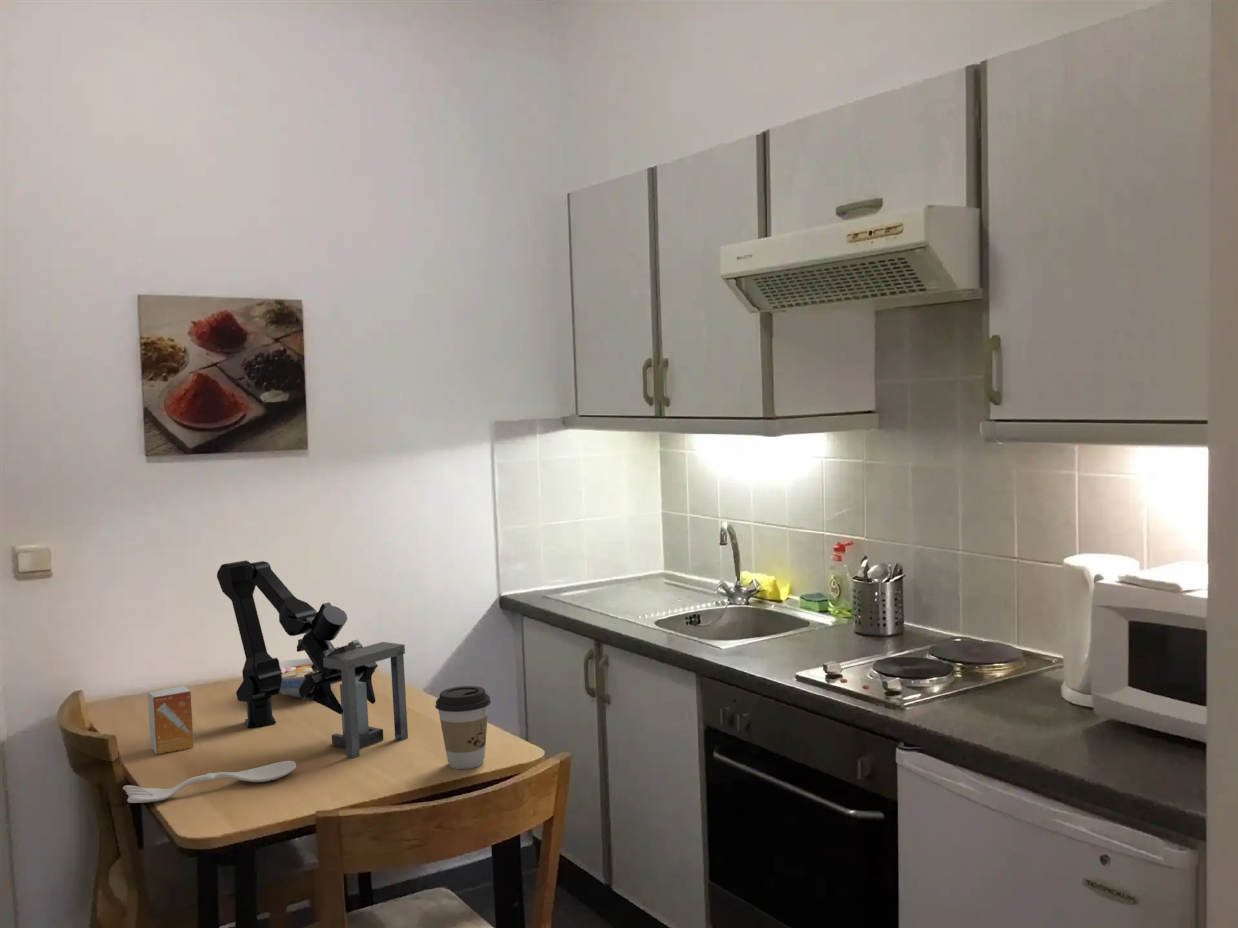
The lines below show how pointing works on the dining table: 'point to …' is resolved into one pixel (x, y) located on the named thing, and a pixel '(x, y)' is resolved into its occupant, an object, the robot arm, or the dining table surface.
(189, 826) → the dining table surface
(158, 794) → the spoon
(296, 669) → the ramen bowl
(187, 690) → the small box
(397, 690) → the overhang seat
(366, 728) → the blue-grey rectangular block
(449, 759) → the coffee cup
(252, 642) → the robot arm
